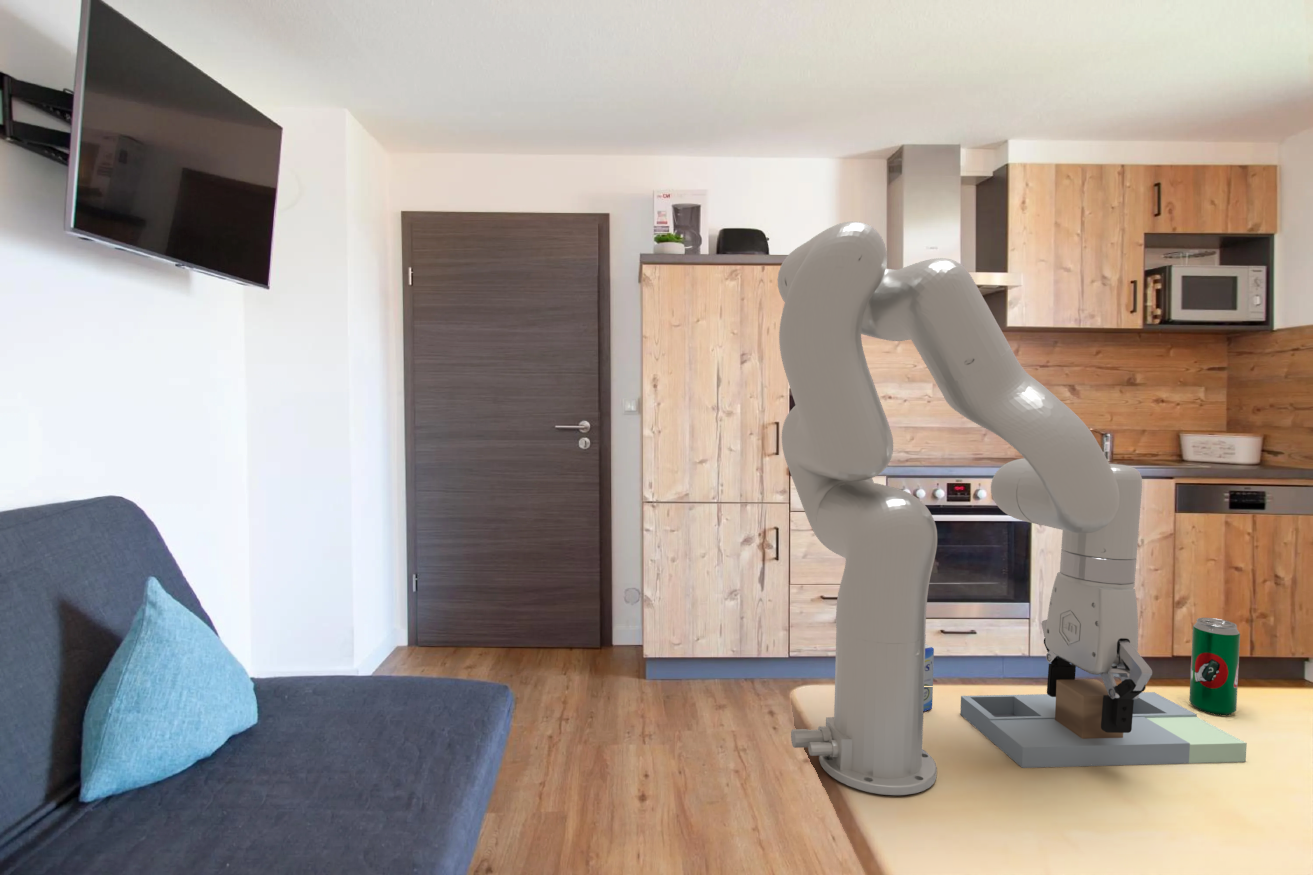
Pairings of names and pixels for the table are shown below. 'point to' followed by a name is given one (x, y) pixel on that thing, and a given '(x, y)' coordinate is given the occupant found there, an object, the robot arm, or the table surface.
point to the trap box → (1153, 739)
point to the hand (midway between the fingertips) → (1086, 712)
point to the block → (1082, 707)
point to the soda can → (1214, 666)
